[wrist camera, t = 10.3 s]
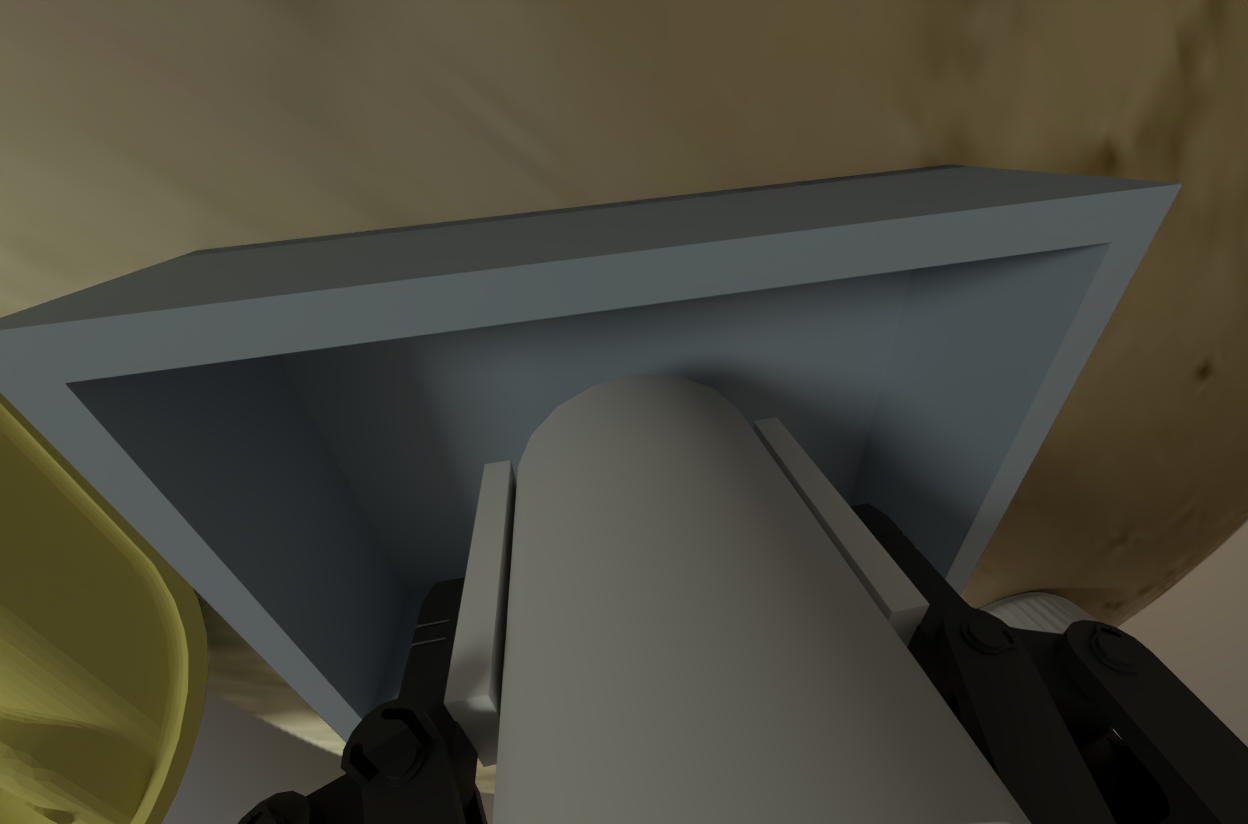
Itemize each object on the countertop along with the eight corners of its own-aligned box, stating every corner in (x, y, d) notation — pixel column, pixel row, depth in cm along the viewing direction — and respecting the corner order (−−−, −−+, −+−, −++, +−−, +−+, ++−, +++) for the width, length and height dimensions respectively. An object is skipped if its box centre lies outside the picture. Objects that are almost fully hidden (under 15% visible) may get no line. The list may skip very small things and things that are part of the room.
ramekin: (980, 678, 36) (1041, 755, 32) (886, 665, 32) (941, 750, 28) (1103, 593, 31) (1196, 669, 27) (1010, 565, 27) (1100, 648, 23)
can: (756, 347, 13) (1466, 1061, 3) (732, 525, 17) (1003, 1086, 7) (496, 373, 12) (293, 1479, 2) (536, 555, 16) (526, 1235, 6)
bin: (196, 250, 12) (-55, 337, 7) (950, 164, 14) (1182, 183, 9) (397, 592, 20) (349, 745, 15) (854, 509, 22) (946, 621, 17)
